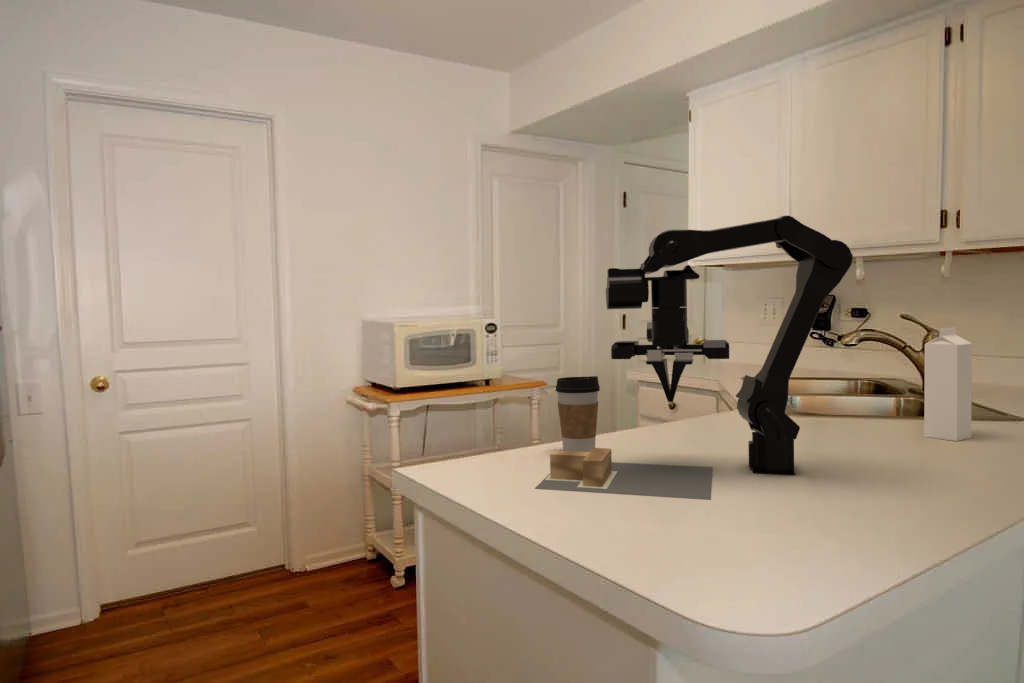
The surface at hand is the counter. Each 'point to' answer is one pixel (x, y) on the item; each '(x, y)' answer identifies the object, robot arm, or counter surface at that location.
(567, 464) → the t block
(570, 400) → the coffee cup
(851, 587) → the counter surface
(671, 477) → the mat
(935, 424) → the milk
